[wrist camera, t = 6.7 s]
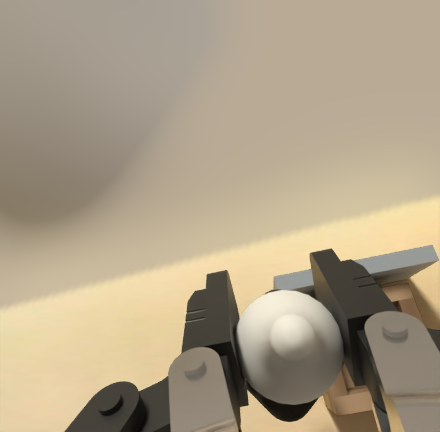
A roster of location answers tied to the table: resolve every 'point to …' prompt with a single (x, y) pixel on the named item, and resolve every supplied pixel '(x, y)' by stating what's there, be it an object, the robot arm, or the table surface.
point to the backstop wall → (368, 269)
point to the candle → (288, 352)
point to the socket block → (343, 386)
